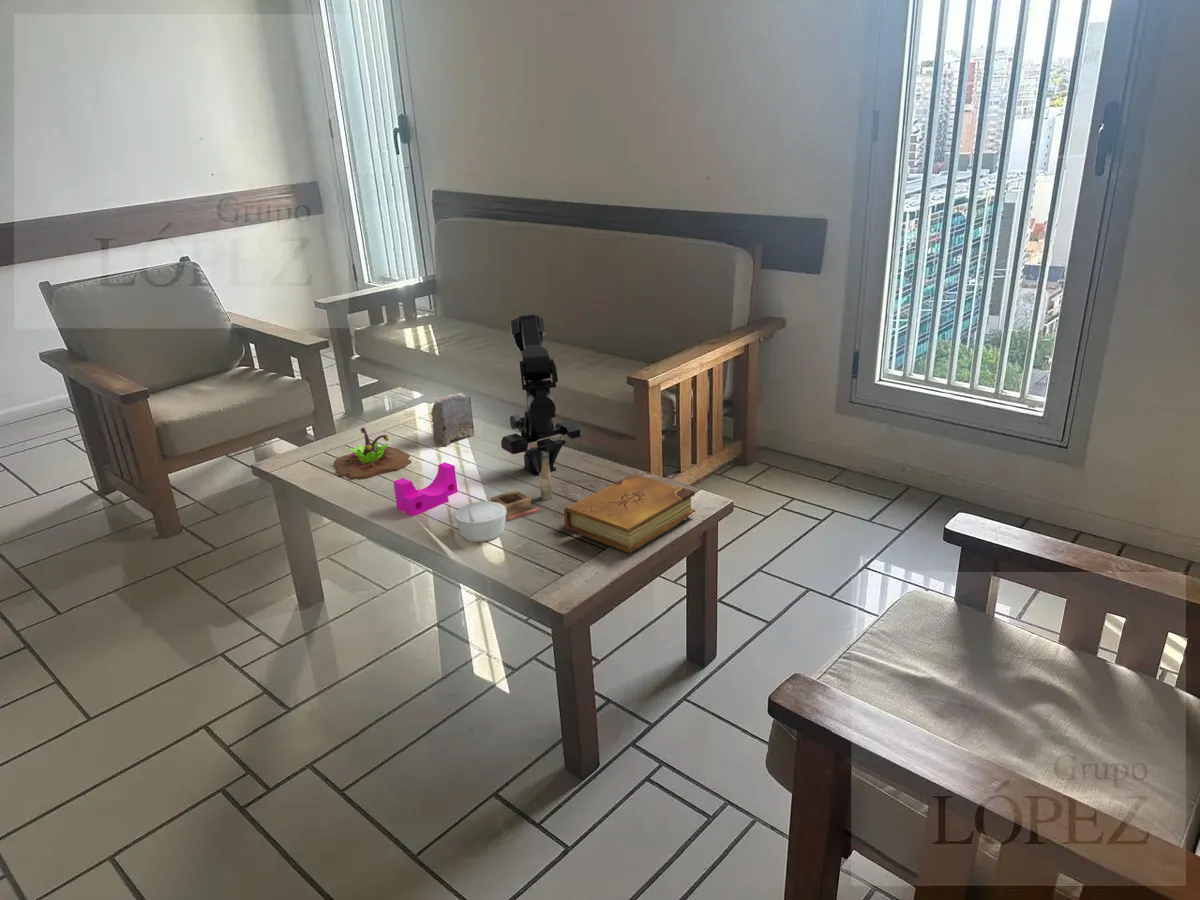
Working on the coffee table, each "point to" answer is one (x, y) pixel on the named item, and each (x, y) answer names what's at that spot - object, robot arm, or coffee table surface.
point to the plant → (371, 460)
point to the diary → (630, 512)
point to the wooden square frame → (515, 504)
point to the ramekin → (481, 521)
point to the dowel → (545, 477)
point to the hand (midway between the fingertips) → (544, 470)
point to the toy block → (426, 491)
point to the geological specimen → (452, 419)
